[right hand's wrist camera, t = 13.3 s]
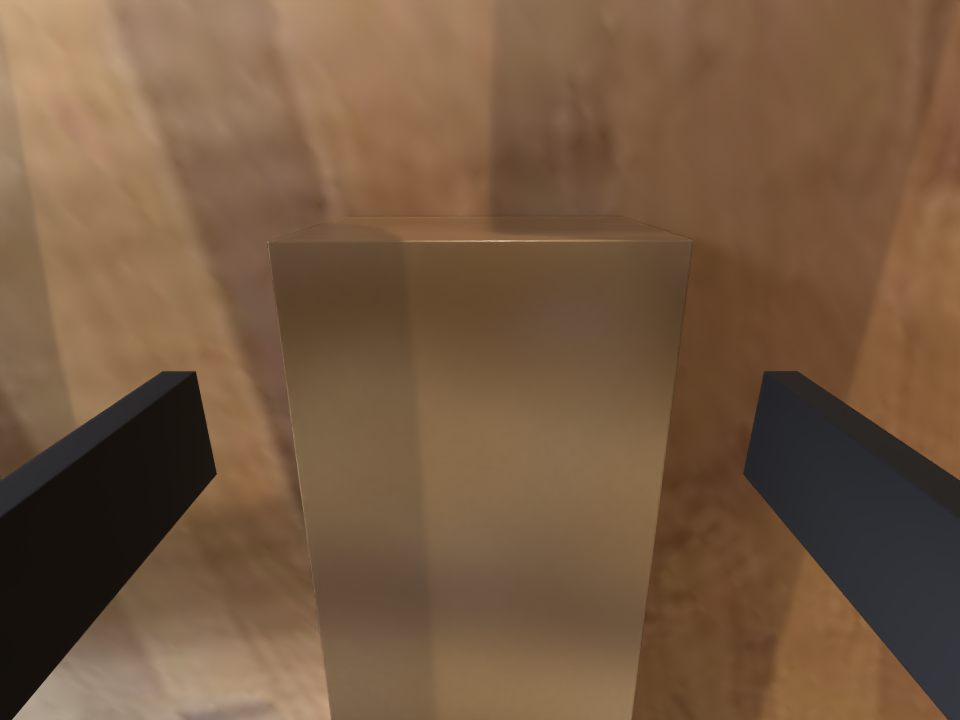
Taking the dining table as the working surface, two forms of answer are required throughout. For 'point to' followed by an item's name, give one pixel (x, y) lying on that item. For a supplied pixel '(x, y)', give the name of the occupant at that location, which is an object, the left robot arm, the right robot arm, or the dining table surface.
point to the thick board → (480, 455)
